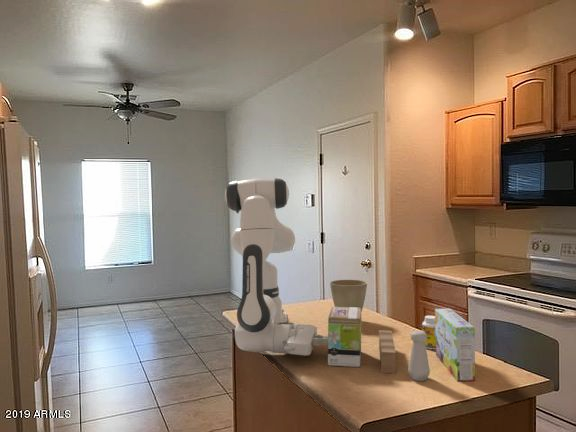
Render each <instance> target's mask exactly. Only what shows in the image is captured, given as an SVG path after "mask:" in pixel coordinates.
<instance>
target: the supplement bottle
mask: <svg viewBox="0 0 576 432" xmlns="http://www.w3.org/2000/svg"><path fill="white" fill-rule="evenodd" d="M421 328H422V329H421V331H423V332H425V333H426V334H427V341H425V346H426V350H432V349H433V350H436V333H435V315H425V316H424V320H423V321H422V323H421Z"/></svg>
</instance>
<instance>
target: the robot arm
mask: <svg viewBox="0 0 576 432" xmlns="http://www.w3.org/2000/svg"><path fill="white" fill-rule="evenodd" d="M225 188H226V189H225V193H224V200H225V203H226V205H227V208H229V209H230V211H233V212H235V213H236V214H240V218H239V219H240V220H239V227H238V228H235V229H234V231H233V233H232V234H231V237H230V238H231V239H230V243H231V247H232V248H233V249H234V251H236V253H238V254H240V256H241V257H242V278H241V279H242V289H241V290H242V293H241V299H240V302H239V305H238V307H237V310H236V319H237V323H238V324H236V326H235V328H234V341H235V344H236V346H237V347H238V348H239V349H240V350H241V351H246V352H254V353H265V352H270V353H274V354H290V355H295V356H311V354H312V352H313V348H314V347H319V346H322V345H325V346H326V345H327V346H328V335H323V334H318V327H317V326H315V325H311V324H302V323H301V324H299V323H297V324H296V323H295V322H292V321H290V322H288V316H287V311H285V310H284V309H283V307H282V306H283V304H282V303H283V302H282V300H281V297H279V295H280V289H279V286H278V268H277V266H275V264H273V263H272V262H270V261H268V257H269V256H270V255H271V254H280V253H287V252H290V251H291V250H292V249H293V248H294V246H295V242H296V237H295V233H294V231H293V230H292V228H291V227H288V226H286V225H284V224H283V223H282V222H281V221H280V220H279V219H278V218H277V215H276V209H277V210H278V209H282V208H285V207H286V205H287V204H288V201H289V199H290V190H289V187H288V184H287V182H286V181H285V180H284V179H282V178H276V177H275V178H265V177H264V178H260V177H257V178H252V179H250V178H249V179H243V180H233V181H230V182H229V183H228V184H227V185H226V187H225Z"/></svg>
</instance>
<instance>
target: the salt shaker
mask: <svg viewBox="0 0 576 432" xmlns="http://www.w3.org/2000/svg"><path fill="white" fill-rule="evenodd" d="M410 339H411V341H412V346H411V352H410V357H409V363H408V368H407V371H408V374H409V377H410V379H412V380H413V381H416V382H425V381H427V380H428V379H429V376H430V375H431V374H430V373H431V370H430V365H429V359H428V353H427V349H426V346H425V341H427V334H426V333H425V332H423V331H422V330H414V331H412V332H411V334H410Z"/></svg>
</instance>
